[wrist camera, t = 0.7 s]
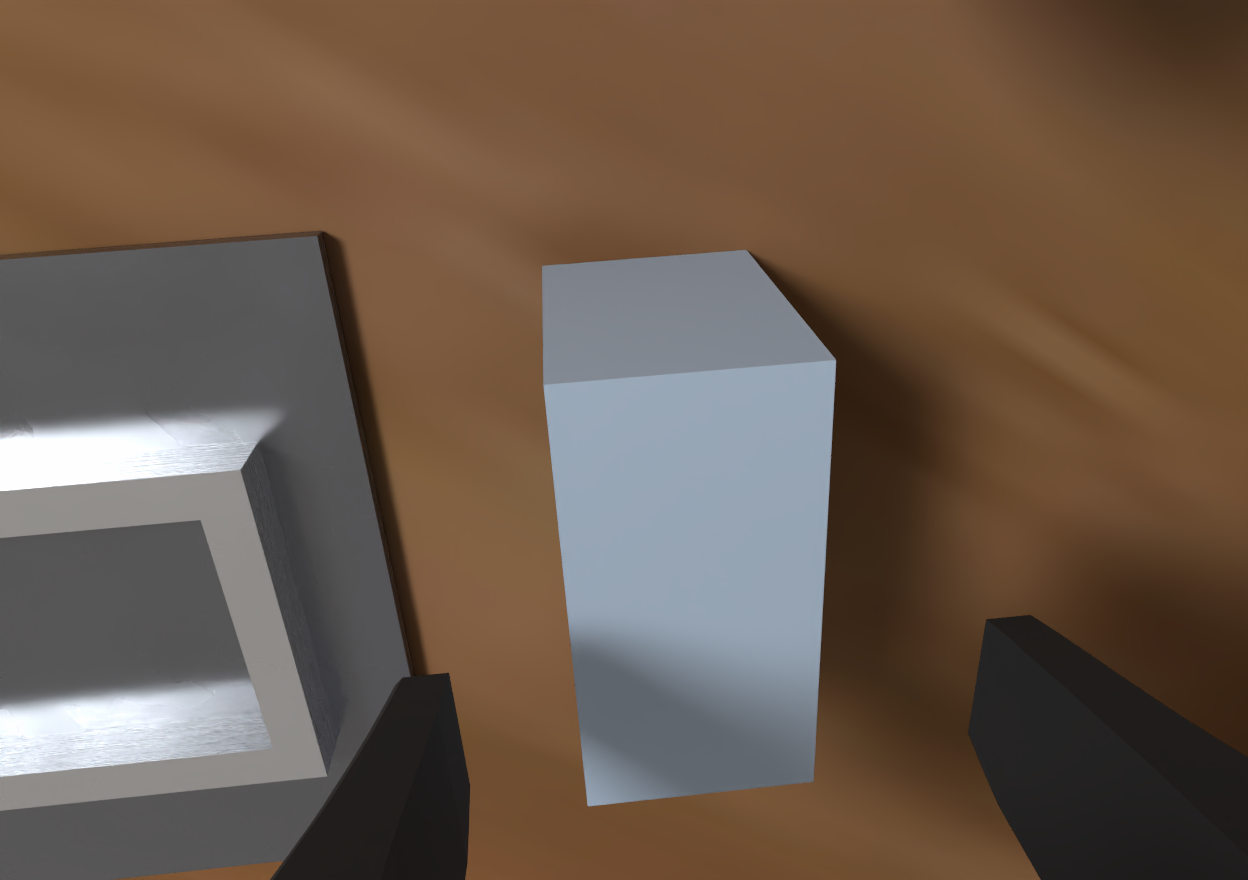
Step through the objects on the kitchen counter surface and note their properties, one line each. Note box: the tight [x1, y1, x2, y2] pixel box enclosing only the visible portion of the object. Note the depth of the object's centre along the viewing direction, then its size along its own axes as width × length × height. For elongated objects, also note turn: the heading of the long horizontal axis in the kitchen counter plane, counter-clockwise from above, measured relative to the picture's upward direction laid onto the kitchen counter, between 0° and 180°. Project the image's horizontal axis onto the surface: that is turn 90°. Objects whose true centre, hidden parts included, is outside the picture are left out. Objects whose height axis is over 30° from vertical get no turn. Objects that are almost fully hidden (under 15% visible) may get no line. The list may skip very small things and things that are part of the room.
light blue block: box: [542, 250, 836, 806], centre depth 17 cm, size 8×4×6 cm, turn 3°
